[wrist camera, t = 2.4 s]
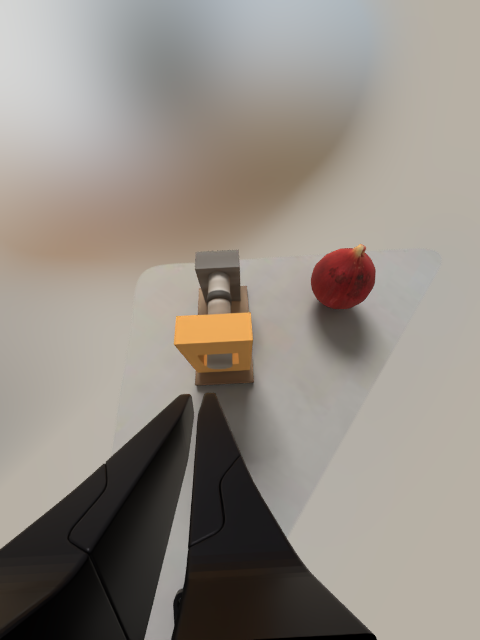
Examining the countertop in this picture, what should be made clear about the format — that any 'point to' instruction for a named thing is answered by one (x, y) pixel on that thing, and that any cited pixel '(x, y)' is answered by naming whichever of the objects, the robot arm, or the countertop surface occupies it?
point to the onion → (343, 278)
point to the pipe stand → (221, 308)
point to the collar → (215, 339)
